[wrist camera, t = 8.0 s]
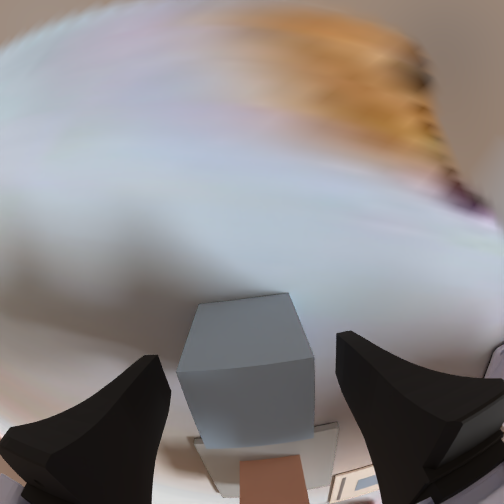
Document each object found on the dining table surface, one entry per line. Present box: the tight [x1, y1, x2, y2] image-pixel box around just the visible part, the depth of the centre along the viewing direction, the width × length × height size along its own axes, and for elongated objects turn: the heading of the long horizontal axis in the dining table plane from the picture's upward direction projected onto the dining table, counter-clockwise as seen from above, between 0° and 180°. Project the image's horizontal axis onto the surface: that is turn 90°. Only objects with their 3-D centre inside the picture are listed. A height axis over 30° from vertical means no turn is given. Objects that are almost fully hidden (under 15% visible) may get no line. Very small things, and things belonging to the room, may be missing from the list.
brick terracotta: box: [240, 454, 309, 504], centre depth 13 cm, size 4×4×5 cm
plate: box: [194, 422, 339, 498], centre depth 15 cm, size 9×9×1 cm
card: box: [329, 465, 379, 504], centre depth 17 cm, size 10×7×1 cm
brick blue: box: [176, 293, 315, 449], centre depth 10 cm, size 4×4×5 cm
